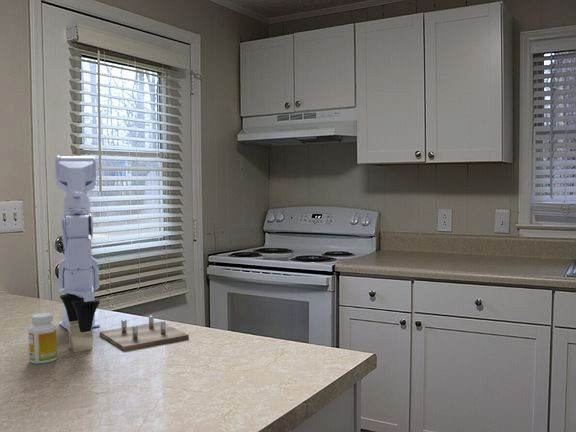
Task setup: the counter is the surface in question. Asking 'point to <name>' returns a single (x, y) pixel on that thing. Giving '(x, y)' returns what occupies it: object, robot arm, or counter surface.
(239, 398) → the counter surface
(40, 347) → the supplement bottle
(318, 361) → the counter surface
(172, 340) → the peg board
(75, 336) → the block
